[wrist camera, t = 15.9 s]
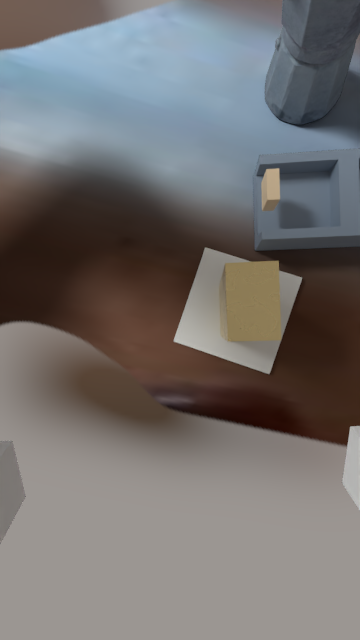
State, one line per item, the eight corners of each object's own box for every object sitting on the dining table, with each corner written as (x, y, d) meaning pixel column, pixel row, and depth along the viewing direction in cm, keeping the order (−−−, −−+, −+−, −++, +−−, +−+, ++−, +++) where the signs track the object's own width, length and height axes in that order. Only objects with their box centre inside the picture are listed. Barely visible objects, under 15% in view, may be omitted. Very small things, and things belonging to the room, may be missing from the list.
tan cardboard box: (220, 336, 38) (227, 341, 24) (218, 286, 38) (225, 263, 24) (254, 335, 38) (281, 340, 24) (252, 284, 38) (278, 260, 24)
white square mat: (173, 341, 39) (173, 341, 39) (205, 248, 39) (205, 247, 39) (268, 373, 38) (269, 374, 38) (301, 278, 38) (302, 277, 38)
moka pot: (230, 72, 39) (253, -190, 19) (355, 29, 38) (517, -297, 18) (252, 144, 39) (298, -47, 19) (379, 103, 38) (571, -147, 18)
